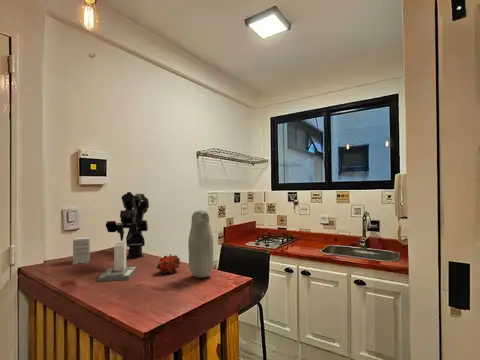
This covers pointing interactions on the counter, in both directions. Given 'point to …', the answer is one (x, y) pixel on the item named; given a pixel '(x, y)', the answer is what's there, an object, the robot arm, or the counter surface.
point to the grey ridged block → (81, 250)
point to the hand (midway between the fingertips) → (124, 240)
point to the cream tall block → (119, 257)
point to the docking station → (117, 274)
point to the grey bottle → (200, 245)
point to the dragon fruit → (168, 264)
